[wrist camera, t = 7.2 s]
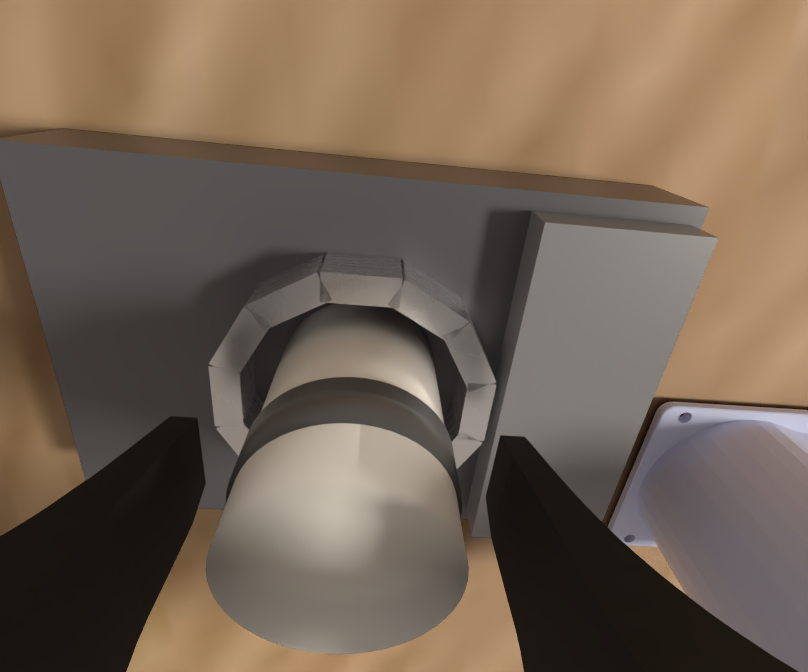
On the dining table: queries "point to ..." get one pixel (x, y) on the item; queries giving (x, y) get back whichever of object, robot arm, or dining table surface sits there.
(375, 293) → the mount ring
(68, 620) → the robot arm
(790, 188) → the dining table surface
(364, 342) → the lens
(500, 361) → the camera body
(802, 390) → the dining table surface
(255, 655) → the dining table surface
